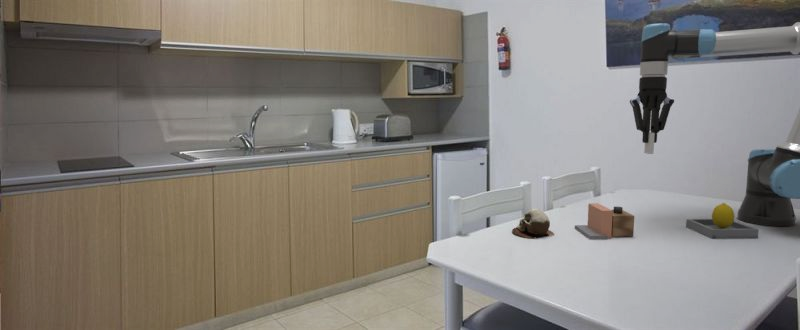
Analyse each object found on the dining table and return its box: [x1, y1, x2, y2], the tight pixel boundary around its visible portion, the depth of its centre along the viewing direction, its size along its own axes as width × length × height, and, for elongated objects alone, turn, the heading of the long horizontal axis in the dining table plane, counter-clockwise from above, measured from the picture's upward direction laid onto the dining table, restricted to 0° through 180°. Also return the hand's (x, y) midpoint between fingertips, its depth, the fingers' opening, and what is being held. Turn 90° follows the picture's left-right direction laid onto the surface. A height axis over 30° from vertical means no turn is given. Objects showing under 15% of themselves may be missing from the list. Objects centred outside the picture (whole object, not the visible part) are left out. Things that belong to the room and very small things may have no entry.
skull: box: [512, 208, 555, 240], centre depth 150 cm, size 12×10×10 cm
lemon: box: [711, 202, 735, 229], centre depth 149 cm, size 6×6×8 cm
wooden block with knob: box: [611, 206, 635, 237], centre depth 149 cm, size 6×8×8 cm
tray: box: [685, 218, 759, 240], centre depth 149 cm, size 13×13×2 cm
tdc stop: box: [574, 202, 613, 240], centre depth 149 cm, size 6×12×8 cm, turn 1°
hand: (648, 153), depth 157 cm, fingers closed
